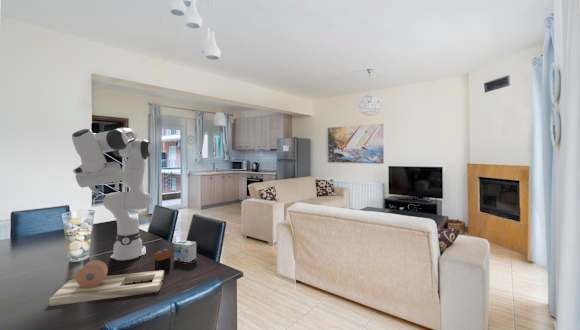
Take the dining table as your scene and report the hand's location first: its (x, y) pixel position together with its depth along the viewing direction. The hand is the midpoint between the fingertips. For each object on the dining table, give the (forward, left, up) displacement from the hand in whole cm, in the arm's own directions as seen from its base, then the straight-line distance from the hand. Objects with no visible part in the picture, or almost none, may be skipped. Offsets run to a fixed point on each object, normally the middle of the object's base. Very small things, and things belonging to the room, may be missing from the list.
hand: (107, 191), depth 128 cm
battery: (-9, +23, -44) cm, 50 cm away
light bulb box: (-17, +34, -44) cm, 58 cm away
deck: (+9, +5, -43) cm, 45 cm away
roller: (+9, -3, -35) cm, 37 cm away
